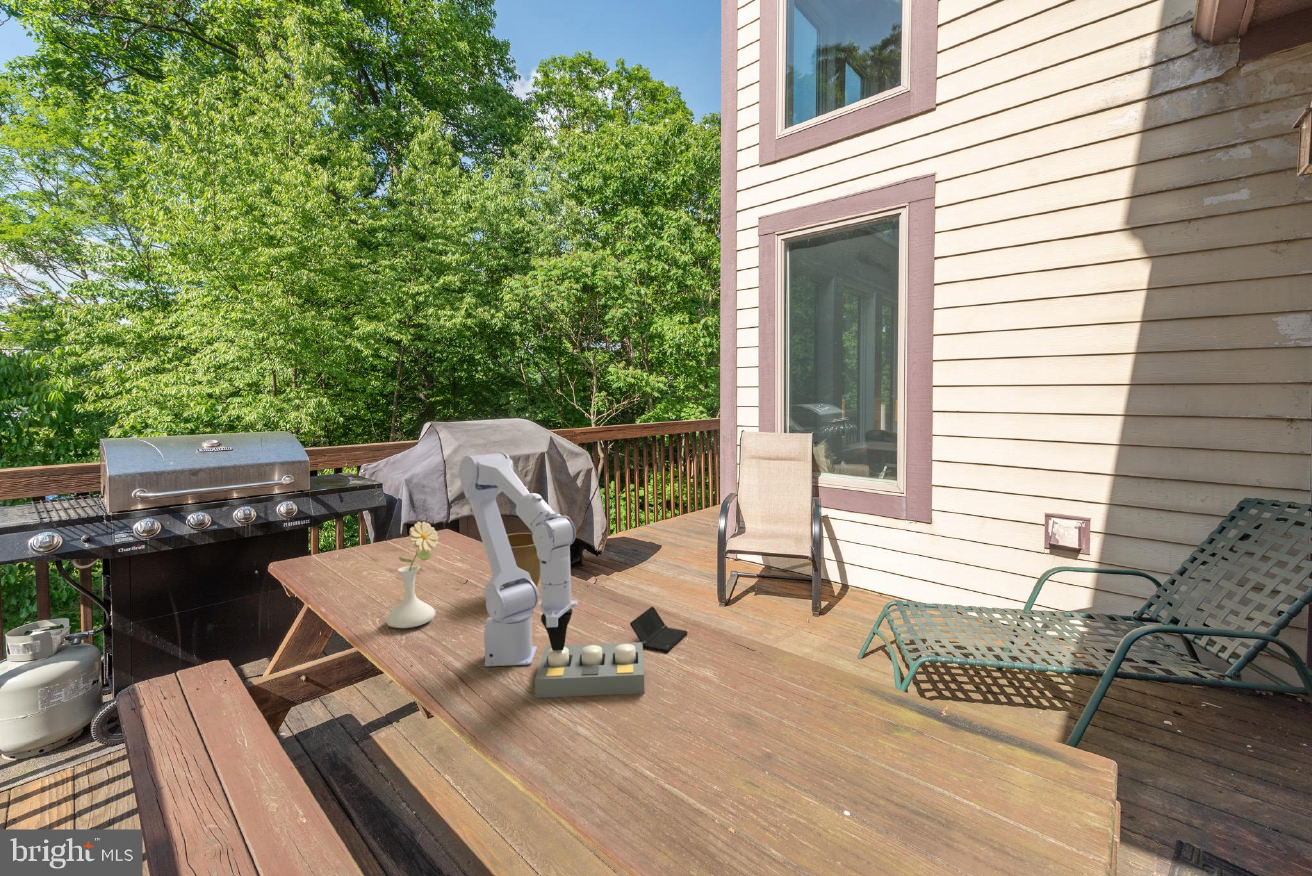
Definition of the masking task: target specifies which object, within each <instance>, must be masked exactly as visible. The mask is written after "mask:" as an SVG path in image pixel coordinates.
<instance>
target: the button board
mask: <svg viewBox="0 0 1312 876" xmlns="http://www.w3.org/2000/svg"><path fill="white" fill-rule="evenodd" d="M621 644H631V645H634V646H635V655H636V664H617V665H615V647H616V646H618V645H621ZM590 645H597V646H600V647H601V648H602V665H594V666H582V652H581V650H582V648H584V647H586V646H590ZM564 647H566V648H568V649H569V667H548V651H549V650H550V649H551V648H552V647H551V645H546V646H545V648H544V650H543V654H542V656H541V659H540V662H539V665H538V668H537V670H536V671H537V672H536V674H535V677H534V698H535V699H543V698H544V699H545V698H565V697H585V696H589V697H590V696H606V695H605V694H613V695H628V694H630V695H631V694H645V690H646V689H645V669H644V668H645V666H644V665H645V664H644V663H645V662H644V649H643V644H642V642H641V641H638V642H618V643H617V642H615V643H593V644H592V643H591V644H589V643H588V644H572V645H571V644H570V645H569V644H568V645H564Z"/></svg>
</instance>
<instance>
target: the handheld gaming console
mask: <svg viewBox="0 0 1312 876" xmlns="http://www.w3.org/2000/svg"><path fill="white" fill-rule="evenodd" d="M629 625H630V627H631V629H632V630H633V631H634V633H635V635H636V637H637V639H638V640H639V642H642V645H643V650H644V649H645V650H648V649H649V651H653V650H654V651H655V652H658V651H659V653H663V652H664V654H669V653H670V652H671V651H672V650H673V649H674V648H675V647H676V646H677V645H678V644H679V643H680V642H681V641H682V640H684V638H686V636H688V631H687V630H683V629H679V628H678V629H677V628H674V627H673V628H672V627H668V626H667V625H666V624H665V622H664V621H663V619H662V618H661V616H660V614H659V613H658V612H657V610H656V609H655V607H654V606H650V607H649V608H648V609H647V610H645V611H644V612H643V613H641V614H640V615H639V616H637V617H636V618H635V619H633V620H632V621H631V622H630V623H629ZM674 646H675V647H674ZM673 647H674V648H673ZM672 648H673V649H672ZM671 649H672V650H671ZM670 650H671V651H670ZM654 651H653V652H654ZM660 651H661V652H660Z"/></svg>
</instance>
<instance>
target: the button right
mask: <svg viewBox="0 0 1312 876" xmlns="http://www.w3.org/2000/svg"><path fill="white" fill-rule="evenodd" d="M617 664H636V655H635V646H634V645H631V644H621V645H618V646H616V647H615V665H617Z"/></svg>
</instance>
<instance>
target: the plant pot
mask: <svg viewBox="0 0 1312 876" xmlns="http://www.w3.org/2000/svg"><path fill="white" fill-rule="evenodd" d="M532 534H534V533H533V532H517V533H509V534H507V537H508V540H509V543H510V546H511V549H512V553H513V556H514V559H515V562H516V565H517V567H518V568H520V569H522V570H524V571H526V572H528V573H529V574H530V577H531V579H532V581H533V583H534V584H535V585H536V587H537V588H538V584H539V582H540V580H541V573H540V559H538V556H537V549H536V546H535V544H534V542H533V538H532ZM511 585H514V584H509V585H506V586H503V587H502V588H504V587H507V586H511Z"/></svg>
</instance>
